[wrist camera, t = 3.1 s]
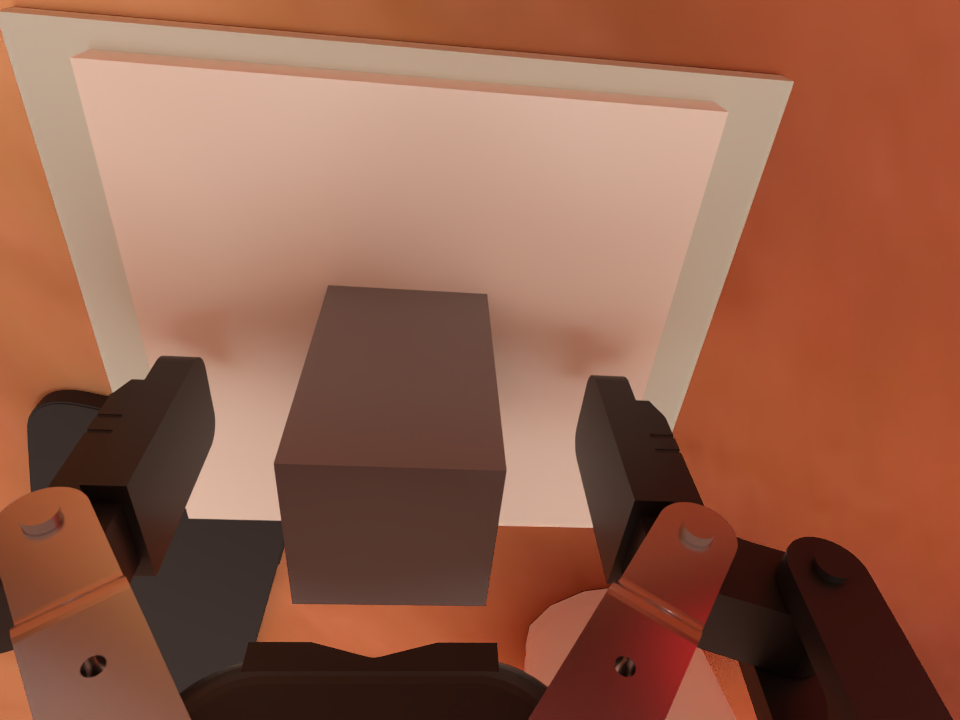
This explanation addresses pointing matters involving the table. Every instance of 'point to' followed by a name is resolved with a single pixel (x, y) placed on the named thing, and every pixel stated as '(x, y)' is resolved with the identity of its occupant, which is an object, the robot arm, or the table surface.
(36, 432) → the phone
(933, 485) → the table surface
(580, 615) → the foam cup
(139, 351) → the mat
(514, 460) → the lid
